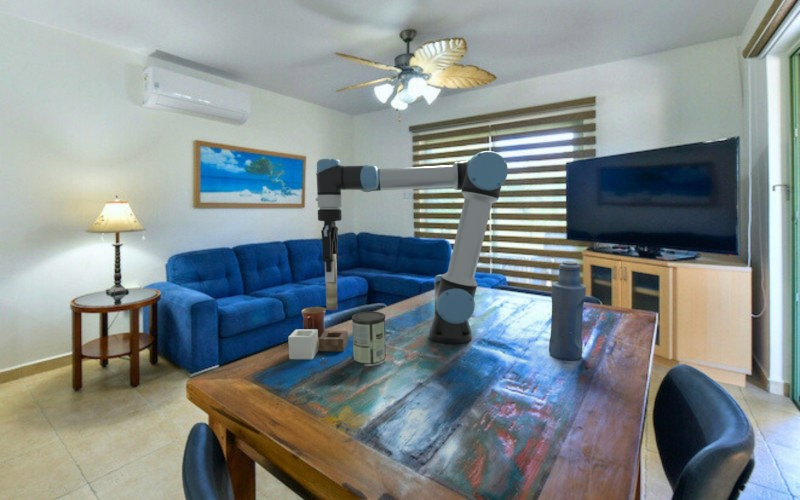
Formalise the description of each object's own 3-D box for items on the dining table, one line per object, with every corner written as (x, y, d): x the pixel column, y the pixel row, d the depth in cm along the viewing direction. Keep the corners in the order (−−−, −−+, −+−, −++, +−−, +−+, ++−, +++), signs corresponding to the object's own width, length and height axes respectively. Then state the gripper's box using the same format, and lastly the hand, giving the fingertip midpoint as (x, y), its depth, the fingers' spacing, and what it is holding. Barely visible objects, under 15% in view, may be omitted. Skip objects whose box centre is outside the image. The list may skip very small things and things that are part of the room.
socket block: (348, 345, 130) (347, 331, 129) (343, 354, 122) (343, 339, 121) (325, 344, 130) (324, 330, 130) (319, 353, 122) (318, 339, 122)
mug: (308, 332, 143) (307, 306, 142) (330, 334, 142) (329, 307, 140) (293, 343, 132) (292, 315, 130) (317, 345, 130) (316, 316, 129)
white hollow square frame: (318, 353, 123) (317, 329, 122) (312, 362, 116) (311, 337, 115) (296, 352, 123) (295, 329, 122) (289, 362, 116) (288, 337, 115)
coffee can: (361, 351, 124) (360, 310, 122) (390, 355, 121) (390, 312, 119) (347, 364, 114) (345, 319, 113) (378, 368, 111) (377, 322, 109)
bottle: (556, 346, 127) (559, 258, 123) (587, 354, 120) (591, 261, 116) (543, 355, 120) (547, 261, 116) (575, 363, 113) (580, 265, 109)
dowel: (327, 307, 126) (326, 254, 124) (338, 307, 126) (337, 254, 124) (325, 310, 123) (323, 255, 121) (336, 310, 123) (334, 255, 121)
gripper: (324, 208, 129) (326, 275, 132) (310, 208, 113) (313, 285, 115) (346, 208, 129) (347, 275, 132) (335, 208, 112) (337, 285, 115)
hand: (331, 280), depth 123 cm, fingers closed on dowel, 3 cm apart
